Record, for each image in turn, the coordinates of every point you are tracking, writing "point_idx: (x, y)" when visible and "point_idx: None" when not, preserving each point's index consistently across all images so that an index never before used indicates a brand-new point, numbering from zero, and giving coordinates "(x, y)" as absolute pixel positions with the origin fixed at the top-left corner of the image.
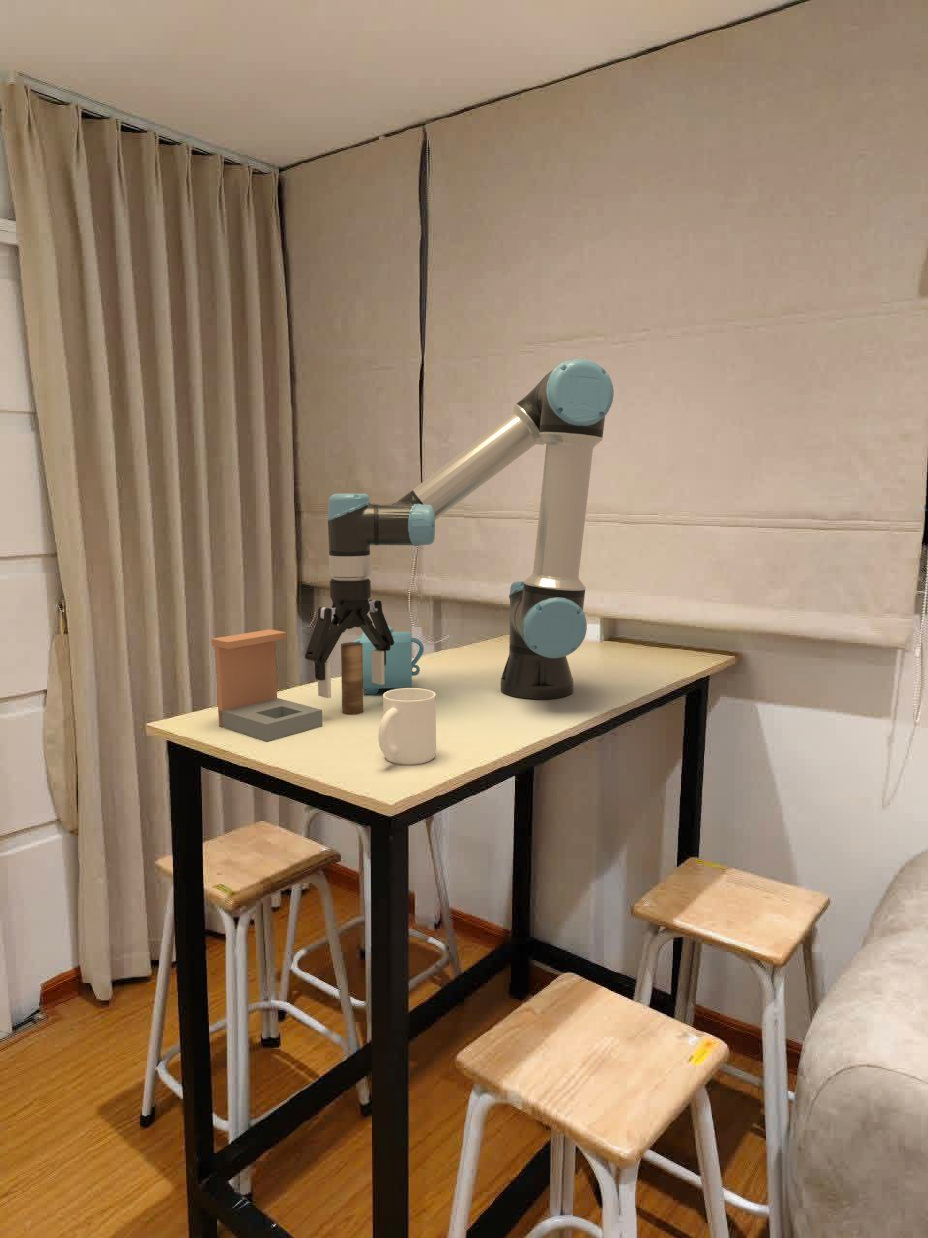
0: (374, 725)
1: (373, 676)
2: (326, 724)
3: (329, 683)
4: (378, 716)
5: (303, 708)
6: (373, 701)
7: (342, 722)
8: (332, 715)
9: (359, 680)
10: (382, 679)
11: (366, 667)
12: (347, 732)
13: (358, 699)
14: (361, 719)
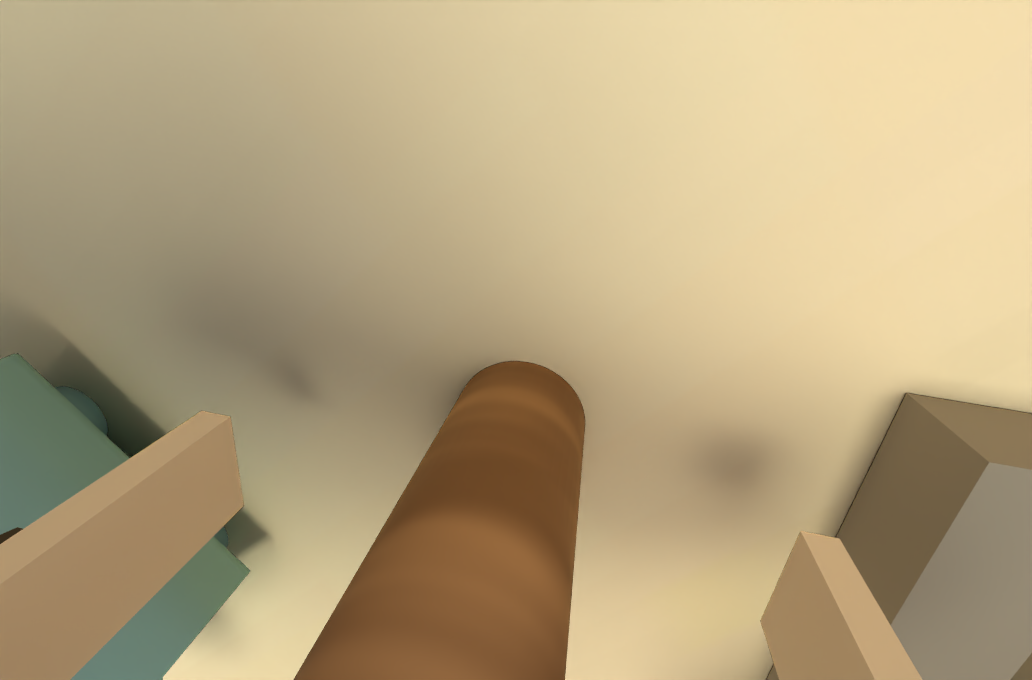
0: (721, 85)
1: (203, 529)
2: (849, 396)
3: (885, 664)
4: (508, 222)
5: (999, 589)
6: (293, 440)
7: (757, 338)
8: (647, 472)
9: (472, 514)
10: (187, 439)
11: (110, 667)
12: (1005, 139)
13: (522, 413)
14: (631, 275)
